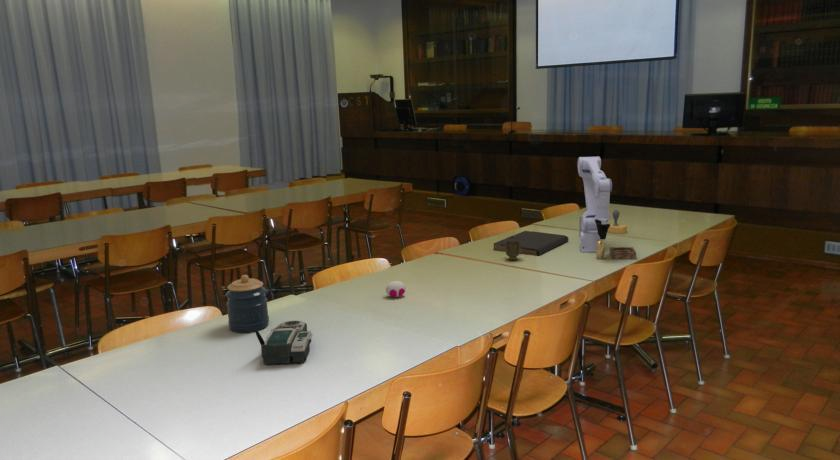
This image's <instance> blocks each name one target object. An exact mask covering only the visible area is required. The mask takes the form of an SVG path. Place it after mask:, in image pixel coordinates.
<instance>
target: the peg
mask: <svg viewBox="0 0 840 460" xmlns="http://www.w3.org/2000/svg"><path fill="white" fill-rule="evenodd" d="M595 255H596V257H595V258H596V259H597V260H604V259H605V240H597V252H595Z"/></svg>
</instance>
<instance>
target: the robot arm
mask: <svg viewBox="0 0 840 460" xmlns="http://www.w3.org/2000/svg"><path fill="white" fill-rule="evenodd" d="M601 167H602V159H601V157H600V156H598V155H597V156H579V157H578V159H577V173H578V176H579V177H581V178H582V182H583V188H584V191H583V192H584V197H585V200H584V201H585V208H586V211H585V212H584V213H582V215H581V216H580V217H581V227H582V230H583V232H580V237H579V251H580V252H583V253H587V252H588V253H596V252H597V240H604V241H605V240H606V238H607V234H608V233H607V231H608V228H609V227H610V224H611V223H608V221H609V220H611V219H613V216H610V199H611V198H610V197H611V192H612V191H613V190H612V189H613V182H612V179H611V178H607V176H606V174H605V172H604V171H603V170H602V169H601Z"/></svg>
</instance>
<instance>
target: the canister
mask: <svg viewBox="0 0 840 460" xmlns="http://www.w3.org/2000/svg"><path fill="white" fill-rule="evenodd" d="M227 289H228V291H226V293H225V297H226V298H227V302H226V307H227V309H226V310H227V317H228V318H227V319H228V322H227V323H228V328H229V329H230V331H232V332H234V333H243V334H245V333H255V331H256V330H258V331H261V330H263V329H265V328H268V326H269V323H270V316H269V310H268V297H266V293H267V288H266V287H264V282H263V281H261V280H259V279H258V278H257V279H256V278H253V277H251V278H249V275H247V274H242V275H241V277H240V278H239V279H236V280H234V281H232V282H231V283H230V284H229V285H227Z"/></svg>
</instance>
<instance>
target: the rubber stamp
mask: <svg viewBox="0 0 840 460" xmlns="http://www.w3.org/2000/svg"><path fill="white" fill-rule="evenodd" d="M619 217H620V211H619V210H618V209H613V210H612V219H613V222H614V223H609V224H610V227H609V228H608V231H607V234H609V233H610V234H615V235H616V234H617V235H625V234H627V233H628V225H625V224H624V225H623V224H618V220H619Z"/></svg>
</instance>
